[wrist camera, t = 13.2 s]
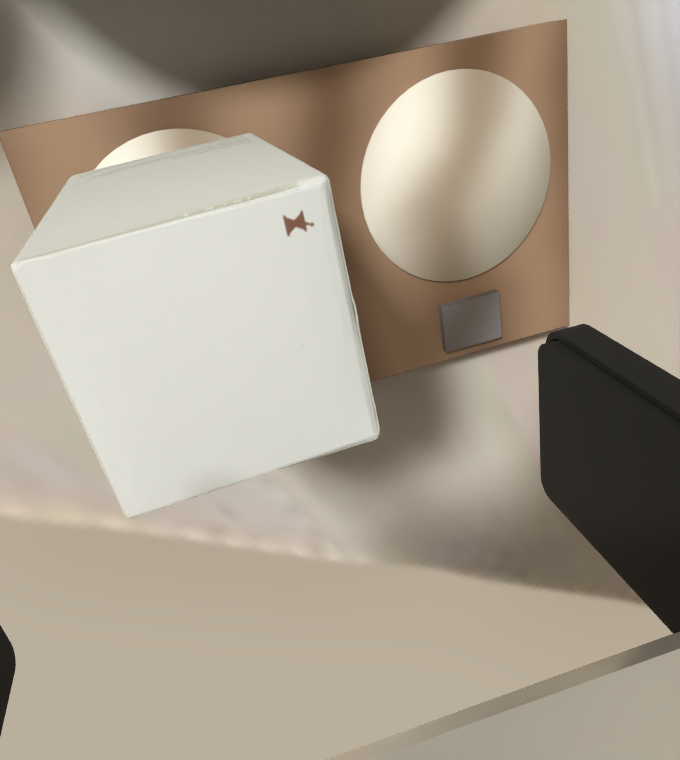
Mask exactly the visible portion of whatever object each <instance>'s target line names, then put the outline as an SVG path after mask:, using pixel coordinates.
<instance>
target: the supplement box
mask: <svg viewBox="0 0 680 760" xmlns="http://www.w3.org/2000/svg"><path fill="white" fill-rule="evenodd" d="M11 269H12V271H13V274H14V276H15V278H16V281H17V283H18V286H19V288H20V290H21V293H22V295H23V297H24V300H25V302H26V304H27V307H28V309H29V311H30V313H31V315H32V318H33V320H34V322H35V325H36V327H37V329H38V331H39V333H40V335H41V338H42V340H43V342H44V344H45V346H46V348H47V350H48V352H49V355H50V357H51V359H52V361H53V363H54V365H55V368H56V370H57V372H58V374H59V376H60V379H61V381H62V383H63V385H64V387H65V389H66V392H67V394H68V396H69V398H70V400H71V402H72V405H73V407H74V409H75V411H76V413H77V415H78V418H79V420H80V422H81V424H82V426H83V428H84V431H85V433H86V435H87V437H88V439H89V441H90V443H91V446H92V448H93V450H94V452H95V454H96V456H97V458H98V460H99V463H100V465H101V467H102V469H103V471H104V473H105V475H106V478H107V480H108V482H109V484H110V486H111V488H112V490H113V492H114V494H115V496H116V498H117V500H118V502H119V504H120V506H121V508H122V510H123V513H124V515H125V516H126V518H133V517H136V516H139V515H142V514H145V513H148V512H151V511H154V510H157V509H160V508H163V507H167V506H170V505H173V504H176V503H179V502H182V501H185V500H188V499H191V498H194V497H197V496H200V495H203V494H206V493H209V492H212V491H215V490H218V489H221V488H224V487H227V486H230V485H233V484H236V483H239V482H242V481H245V480H249V479H252V478H255V477H258V476H261V475H263V474H266V473H269V472H272V471H275V470H279V469H282V468H285V467H289V466H292V465H295V464H298V463H302V462H305V461H308V460H312V459H315V458H319V457H322V456H325V455H328V454H332V453H335V452H338V451H341V450H344V449H348V448H351V447H354V446H357V445H361V444H364V443H368V442H371V441H374V440H376V439H377V438H378V437H379V434H380V427H379V422H378V417H377V412H376V406H375V402H374V398H373V393H372V388H371V383H370V379H369V374H368V369H367V364H366V359H365V354H364V349H363V344H362V339H361V334H360V328H359V321H358V315H357V310H356V305H355V301H354V298H353V295H352V291H351V286H350V281H349V276H348V272H347V267H346V262H345V257H344V252H343V247H342V241H341V236H340V231H339V226H338V221H337V216H336V212H335V207H334V201H333V196H332V190H331V184H330V179H329V178H328V176H327V175H325V174H323V173H322V172H320V171H318V170H316V169H315V168H313V167H311V166H309V165H308V164H306V163H304V162H302V161H300V160H299V159H297V158H295V157H293V156H291V155H289V154H288V153H286V152H284V151H283V150H281V149H279V148H277V147H275V146H274V145H272V144H270V143H268V142H266V141H265V140H263V139H261V138H259V137H258V136H256V135H254V134H253V133H246V134H242V135H238V136H234V137H230V138H226V139H221V140H217V141H213V142H209V143H204V144H200V145H196V146H191V147H187V148H183V149H178V150H174V151H169V152H165V153H161V154H157V155H153V156H149V157H145V158H141V159H137V160H133V161H129V162H125V163H121V164H116V165H112V166H108V167H104V168H100V169H96V170H92V171H88V172H84V173H81V174H77V175H73V176H71V177H70V178H69V179H68V181H67V183H66V184H65V186H64V187H63V188H62V190H61V192H60V193H59V194H58V196H57V198H56V199H55V201H54V202H53V204H52V205H51V207H50V208H49V210H48V211H47V213H46V214H45V215H44V217H43V218H42V220H41V221H40V223H39V224H38V226H37V228H36V229H35V230H34V232H33V234H32V235H31V237H30V238H29V239H28V241H27V242H26V244H25V245H24V247H23V249H22V250H21V252H20V253H19V254H18V256H17V257H16V259H15V260H14V262H13V263H12V264H11Z"/></svg>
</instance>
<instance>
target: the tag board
mask: <svg viewBox="0 0 680 760" xmlns="http://www.w3.org/2000/svg"><path fill="white" fill-rule="evenodd" d="M246 133H253V134H254V135H256V136H258V137H259V138H261V139H263V140H265V141H266V142H268V143H270V144H272V145H274V146H275V147H277V148H279V149H281V150H283V151H284V152H286V153H288V154H289V155H291V156H293V157H295V158H297V159H299V160H300V161H302V162H304V163H306V164H308V165H309V166H311V167H313V168H315V169H316V170H318V171H320V172H322V173H323V174H325V175H327V176H328V178H329V179H330V184H331V190H332V196H333V201H334V207H335V212H336V216H337V221H338V226H339V231H340V236H341V241H342V247H343V252H344V257H345V262H346V267H347V272H348V276H349V281H350V286H351V291H352V295H353V298H354V301H355V305H356V310H357V315H358V321H359V328H360V334H361V339H362V344H363V349H364V354H365V359H366V364H367V369H368V374H369V379H370V382H371V381H374V380H378V379H381V378H385V377H388V376H392V375H395V374H399V373H402V372H406V371H409V370H413V369H416V368H420V367H423V366H427V365H430V364H434V363H437V362H441V361H444V360H448V359H451V358H455V357H458V356H462V355H465V354H469V353H472V352H476V351H479V350H483V349H486V348H490V347H493V346H497V345H500V344H504V343H507V342H511V341H514V340H518V339H521V338H525V337H528V336H532V335H535V334H539V333H542V332H546V331H549V330H553V329H556V328H560V327H563V326H567V325H569V240H568V111H567V19H566V20H558V21H551V22H546V23H541V24H536V25H531V26H526V27H521V28H516V29H511V30H506V31H501V32H496V33H491V34H486V35H481V36H476V37H471V38H466V39H461V40H456V41H451V42H446V43H441V44H436V45H431V46H426V47H421V48H416V49H411V50H406V51H401V52H396V53H391V54H386V55H381V56H376V57H371V58H366V59H361V60H356V61H350V62H345V63H340V64H335V65H330V66H325V67H320V68H315V69H310V70H305V71H300V72H295V73H290V74H285V75H280V76H275V77H270V78H265V79H260V80H255V81H250V82H245V83H240V84H235V85H230V86H225V87H220V88H215V89H210V90H205V91H200V92H195V93H190V94H185V95H180V96H175V97H170V98H165V99H160V100H155V101H150V102H145V103H140V104H135V105H130V106H125V107H120V108H115V109H109V110H104V111H99V112H94V113H89V114H84V115H79V116H74V117H69V118H64V119H59V120H54V121H49V122H44V123H39V124H34V125H29V126H24V127H19V128H14V129H9V130H4V131H1V132H0V142H1V144H2V147H3V149H4V152H5V154H6V157H7V159H8V162H9V165H10V167H11V170H12V172H13V175H14V177H15V180H16V182H17V185H18V188H19V190H20V193H21V195H22V198H23V200H24V203H25V205H26V208H27V210H28V213H29V216H30V218H31V221H32V223H33V226H34V228H35V229H36V228H37V226H38V224H39V223H40V221H41V220H42V218H43V217H44V215H45V214H46V213H47V211H48V210H49V208H50V207H51V205H52V204H53V202H54V201H55V199H56V198H57V196H58V194H59V193H60V192H61V190H62V188H63V187H64V186H65V184H66V183H67V181H68V179H69V178H70V177H71V176H73V175H77V174H81V173H84V172H88V171H92V170H96V169H100V168H104V167H108V166H112V165H116V164H121V163H125V162H129V161H133V160H137V159H141V158H145V157H149V156H153V155H157V154H161V153H165V152H169V151H174V150H178V149H183V148H187V147H191V146H196V145H200V144H204V143H209V142H213V141H217V140H221V139H226V138H230V137H234V136H238V135H242V134H246Z"/></svg>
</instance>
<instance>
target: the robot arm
mask: <svg viewBox="0 0 680 760" xmlns="http://www.w3.org/2000/svg"><path fill="white" fill-rule="evenodd" d="M538 375H539V418H540V462H541V481H542V485H543V488H544V490H545V492H546V494H547V496H548V497H549V498H550V500H551V501H552V502H553V503H554V504H555V505H556V506H557V507H558V508H559V509H560V511H561V512H562V513H563V514H564V515H565V516H566V517H567V518H568V519H569V520H570V521H571V523H572V524H573V525H574V526H575V527H576V528H577V529H578V530H579V531H580V532H581V533H582V535H583V536H584V537H585V538H586V539H587V540H588V541H589V542H590V543H591V544H592V545H593V547H594V548H595V549H596V550H597V551H598V552H599V553H600V554H601V555H602V556H603V557H604V559H605V560H606V561H607V562H608V563H609V564H610V565H611V566H612V567H613V568H614V569H615V571H616V572H617V573H618V574H619V575H620V576H621V577H622V578H623V579H624V580H625V581H626V583H627V584H628V585H629V586H630V587H631V588H632V589H633V590H634V591H635V592H636V593H637V595H638V596H639V597H640V598H641V599H642V600H643V601H644V602H645V603H646V604H647V605H648V606H649V608H650V609H651V610H652V611H653V612H654V613H655V614H656V615H657V616H658V617H659V618H660V620H662V622H663V623H664V624H665V625H666V626H667V627H668V628H669V629H670V630H671V632H672V633H673V634H672V635H669V636H666V637H663V638H661V639H658V640H655V641H652V642H650V643H647V644H644V645H641V646H639V647H636V648H633V649H630V650H627V651H624V652H622V653H619V654H616V655H614V656H611V657H608V658H605V659H602V660H600V661H597V662H594V663H591V664H588V665H586V666H583V667H580V668H577V669H574V670H572V671H569V672H566V673H563V674H561V675H558V676H555V677H552V678H550V679H547V680H544V681H541V682H539V683H536V684H533V685H530V686H527V687H525V688H522V689H519V690H516V691H513V692H511V693H508V694H505V695H502V696H500V697H497V698H494V699H491V700H488V701H486V702H483V703H480V704H477V705H475V706H472V707H469V708H466V709H464V710H461V711H458V712H456V713H453V714H450V715H447V716H445V717H442V718H439V719H436V720H434V721H431V722H428V723H426V724H423V725H420V726H417V727H415V728H412V729H409V730H406V731H404V732H401V733H398V734H396V735H393V736H390V737H387V738H384V739H382V740H379V741H377V742H374V743H371V744H368V745H366V746H363V747H360V748H357V749H354V750H352V751H349V752H346V753H344V754H341V755H338V756H336V757H333V758H330V759H327V760H680V379H678V378H676V377H675V376H673V375H671V374H670V373H668V372H666V371H665V370H663V369H661V368H660V367H658V366H656V365H654V364H653V363H651V362H649V361H648V360H646V359H644V358H643V357H641V356H639V355H638V354H636V353H634V352H633V351H631V350H629V349H628V348H626V347H624V346H623V345H621V344H619V343H618V342H616V341H614V340H613V339H611V338H609V337H608V336H606V335H604V334H603V333H601V332H599V331H597V330H596V329H594V328H592V327H591V326H589V325H586V324H581V325H577V326H574V327H570V328H566V329H563V330H559V331H556V332H552V333H550V334H549V335H548V337H547V339H546V343H545V344H542V345H541V346H540V347H539V350H538ZM15 665H16V664H15V653H14V650H13V647H12V645H11V643H10V641H9V639H8V637H7V636H6V634H5V632H4V631H3V629H2V628H1V626H0V735H1V731H2V726H3V721H4V717H5V713H6V708H7V704H8V700H9V695H10V690H11V686H12V682H13V677H14V673H15Z"/></svg>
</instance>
